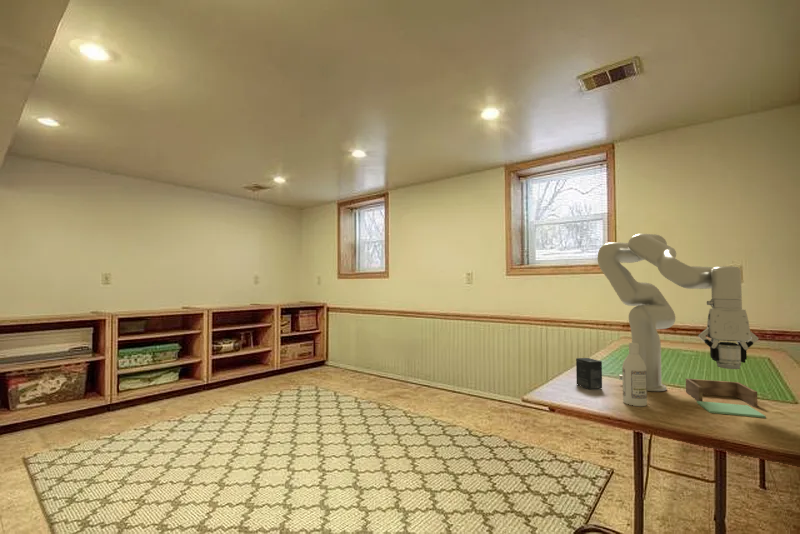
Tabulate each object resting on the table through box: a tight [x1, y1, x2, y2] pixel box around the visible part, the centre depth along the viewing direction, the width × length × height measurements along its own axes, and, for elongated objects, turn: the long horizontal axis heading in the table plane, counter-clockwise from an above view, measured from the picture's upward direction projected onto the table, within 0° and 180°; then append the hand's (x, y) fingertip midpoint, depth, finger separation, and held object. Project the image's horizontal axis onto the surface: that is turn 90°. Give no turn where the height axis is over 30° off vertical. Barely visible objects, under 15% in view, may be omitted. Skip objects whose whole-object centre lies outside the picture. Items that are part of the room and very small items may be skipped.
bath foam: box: [621, 342, 648, 407], centre depth 134 cm, size 7×7×20 cm
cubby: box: [685, 378, 758, 408], centre depth 139 cm, size 16×13×5 cm
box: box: [575, 357, 603, 390], centre depth 155 cm, size 8×6×11 cm
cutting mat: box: [696, 400, 767, 419], centre depth 128 cm, size 14×11×1 cm
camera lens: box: [715, 341, 742, 370], centre depth 128 cm, size 6×6×8 cm
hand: (728, 360), depth 128 cm, fingers closed on camera lens, 6 cm apart
